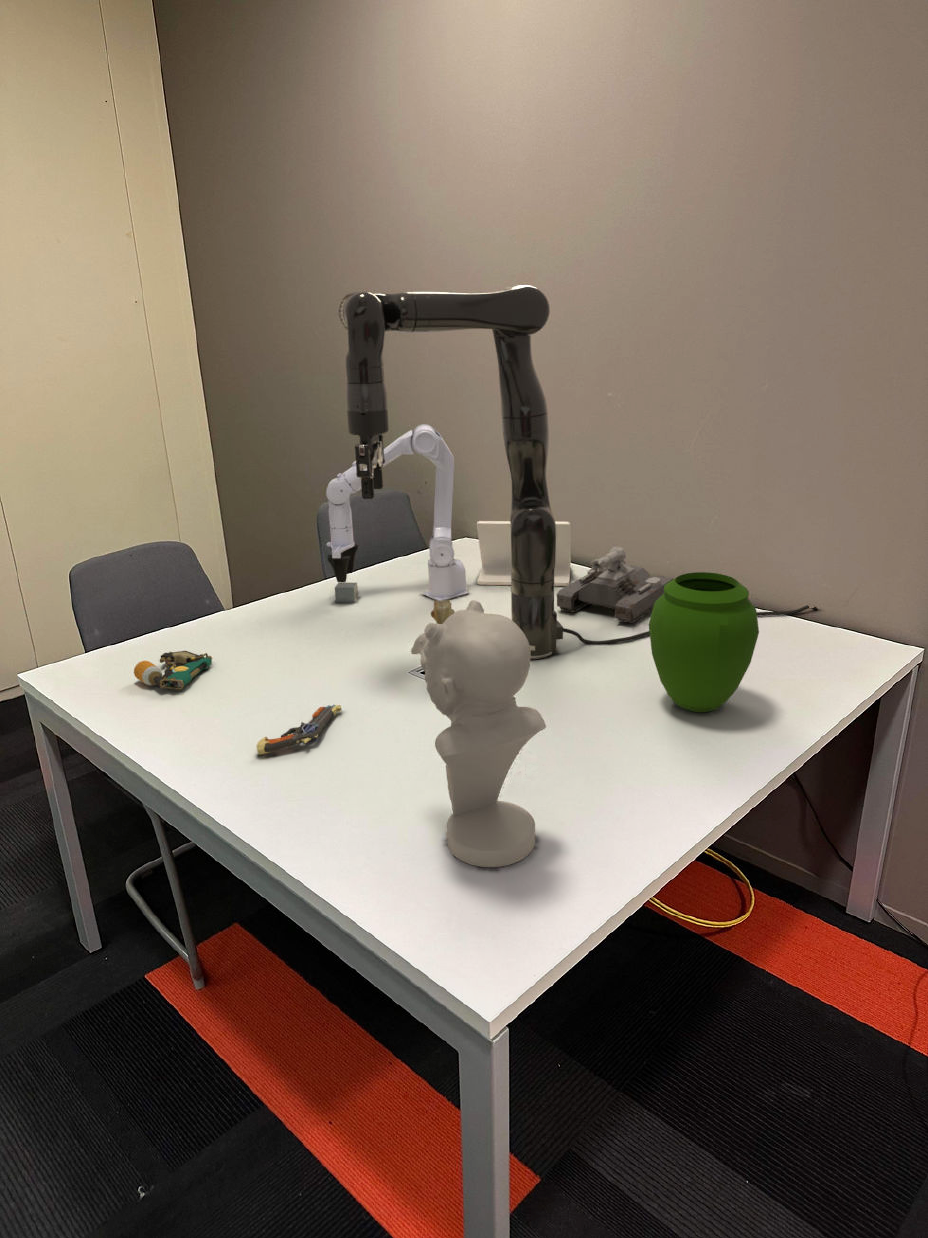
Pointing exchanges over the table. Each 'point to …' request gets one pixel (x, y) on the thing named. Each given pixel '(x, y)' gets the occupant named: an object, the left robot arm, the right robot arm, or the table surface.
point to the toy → (614, 588)
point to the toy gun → (299, 731)
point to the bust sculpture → (481, 729)
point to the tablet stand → (498, 553)
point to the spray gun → (172, 669)
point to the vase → (702, 638)
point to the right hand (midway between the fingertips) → (373, 493)
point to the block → (346, 592)
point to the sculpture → (441, 611)
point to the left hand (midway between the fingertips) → (345, 577)
